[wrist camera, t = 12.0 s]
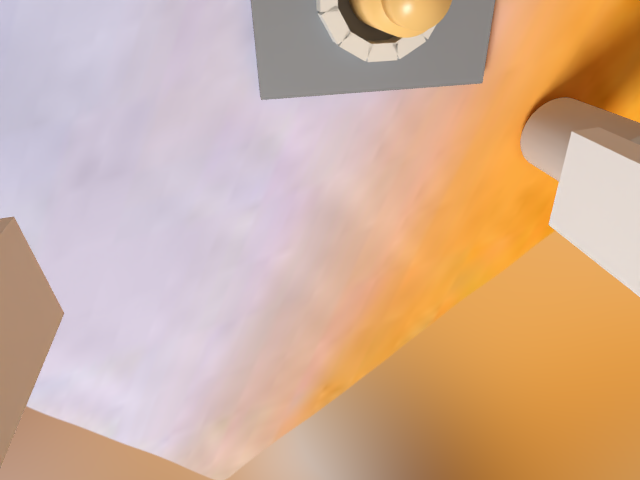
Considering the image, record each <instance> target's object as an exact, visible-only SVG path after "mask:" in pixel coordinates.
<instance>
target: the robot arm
mask: <svg viewBox="0 0 640 480" xmlns="http://www.w3.org/2000/svg"><path fill="white" fill-rule="evenodd" d="M549 226H551V227H552V228H553V229H554V230H556V231H557V232H558V233H560V234H561V235H562V236H563V237H565V238H566V239H567V240H569V241H570V242H571V243H572V244H573V245H575V246H576V247H577V248H579V249H580V250H581V251H582V252H584V253H585V254H586V255H587V256H589V257H590V258H591V259H593V260H594V261H595V262H596V263H598V264H599V265H600V266H601V267H603V268H604V269H605V270H606V271H608V272H609V273H610V274H611V275H613V276H614V277H615V278H617V279H618V280H619V281H620V282H622V283H623V284H624V285H626V286H627V287H628V288H629V289H631V290H632V291H633V292H634V293H636V294H637V295H638V296H639V297H640V145H639V144H636V143H634V142H632V141H630V140H627V139H625V138H623V137H620V136H618V135H616V134H613V133H611V132H609V131H607V130H604V129H602V128H600V127H596V128H590V129H583V130H577V131H572V132H571V136H570V140H569V144H568V148H567V152H566V156H565V160H564V164H563V168H562V172H561V176H560V181H559V185H558V189H557V193H556V197H555V201H554V205H553V209H552V213H551V217H550V221H549ZM63 315H64V312H63V310H62V308H61V306H60V304H59V303H58V301H57V299H56V297H55V295H54V293H53V291H52V289H51V287H50V285H49V283H48V281H47V279H46V277H45V276H44V274H43V272H42V270H41V268H40V266H39V264H38V262H37V260H36V258H35V256H34V254H33V252H32V251H31V249H30V247H29V245H28V243H27V241H26V239H25V237H24V235H23V233H22V231H21V229H20V227H19V225H18V224H17V222H16V220H15V218H14V217H8V218H2V219H0V468H1V465H2V463H3V460H4V458H5V455H6V453H7V451H8V448H9V446H10V443H11V441H12V438H13V436H14V434H15V431H16V429H17V426H18V424H19V421H20V419H21V416H22V414H23V412H24V409H25V407H26V405H27V402H28V400H29V397H30V395H31V392H32V390H33V388H34V385H35V383H36V380H37V378H38V375H39V373H40V371H41V368H42V366H43V363H44V361H45V358H46V356H47V354H48V351H49V349H50V346H51V344H52V341H53V339H54V337H55V334H56V332H57V329H58V327H59V325H60V322H61V320H62V317H63Z"/></svg>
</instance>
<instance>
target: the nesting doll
mask: <svg viewBox="0 0 640 480" xmlns="http://www.w3.org/2000/svg"><path fill="white" fill-rule="evenodd" d="M451 2H452V0H349V3H350V6H351V8H352V11H353V12H354V14H355V15H356V17H357V18H358V19H359V20H360V21H362V22H363V23H365V24H367V25H369V26H371V27H374V28H376V29H379V30H381V31H384V32H386V33H389V34H391V35H394V36H397V37H402V38H409V37H414V36H418V35H420V34H422V33H424V32H425V31H427V30H428V29H430V28H432V27H433V26H435V25H436V24H438V23H439V22H440V21H441V20H442V19H443V18H444V16H445V15H446V13H447V12H448V10H449V8H450V5H451Z"/></svg>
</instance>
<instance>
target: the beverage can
mask: <svg viewBox="0 0 640 480" xmlns="http://www.w3.org/2000/svg"><path fill="white" fill-rule="evenodd" d="M596 127H600V128H602V129H604V130H607V131H609V132H611V133H613V134H616V135H618V136H620V137H623V138H625V139H627V140H630V141H632V142H634V143H636V144H639V145H640V123H638V122H636V121H633V120H630V119H627V118H625V117H622V116H619V115H617V114H614V113H611V112H608V111H606V110H603V109H600V108H598V107H595V106H592V105H589V104H587V103H584V102H581V101H579V100H576V99H573V98H567V97H563V98H557V99H553V100H551V101H549V102H547V103H545V104H543V105H542V106H541V107H539V108H538V109H537V110H536V111H535V112H534V113H533V114H532V115H531V117H530V118H529V119H528V121H527V122H526V124H525V126H524V129H523V131H522V135H521V141H520V145H521V150H522V153H523V156H524V157H525V159H526V160H527V161H528V162H529V163H531V164H532V165H534V166H536V167H537V168H539V169H540V170H542V171H543V172H545V173H547V174H548V175H550V176H551V177H553V178H554V179H556V180H558V181H560V176H561V172H562V168H563V164H564V160H565V156H566V152H567V148H568V144H569V140H570V136H571V132H572V131H577V130H583V129H590V128H596Z"/></svg>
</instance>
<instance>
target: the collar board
mask: <svg viewBox="0 0 640 480" xmlns="http://www.w3.org/2000/svg"><path fill="white" fill-rule="evenodd" d="M494 4H495V0H452V2H451V5H450V8H449V10H448V12H447V13H446V15H445V16H444V18H443V19H442V20H441V21H440V22H439V23H438V24H436V25H435V26H433V27H432V28H430V29H428V30H427V31H425V32H424V33H422V34H420V35H418V36H414V37H409V38H402V37H397V36H394V35H391V34H389V33H386V32H384V31H381V30H379V29H376V28H374V27H371V26H369V25H367V24H365V23H363V22H362V21H360V20H359V19H358V18H357V17H356V15H355V14H354V12H353V11H352V8H351V6H350V3H349V0H251V8H252V18H253V28H254V38H255V48H256V58H257V68H258V78H259V88H260V97H261V100H267V99H280V98H293V97H306V96H320V95H333V94H346V93H360V92H373V91H386V90H399V89H413V88H426V87H439V86H452V85H466V84H479V83H482V82H483V76H484V69H485V63H486V56H487V50H488V43H489V37H490V30H491V24H492V17H493V11H494Z"/></svg>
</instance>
